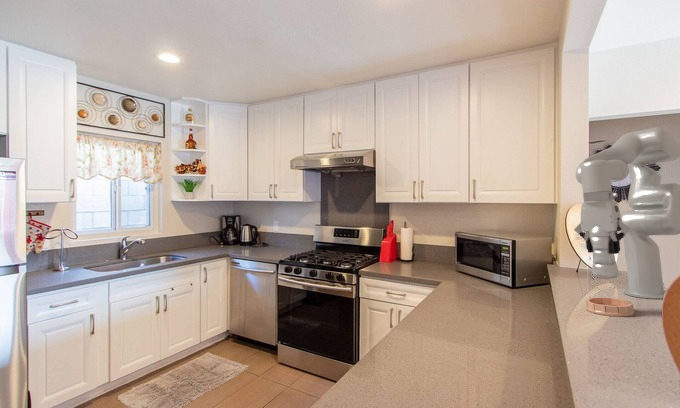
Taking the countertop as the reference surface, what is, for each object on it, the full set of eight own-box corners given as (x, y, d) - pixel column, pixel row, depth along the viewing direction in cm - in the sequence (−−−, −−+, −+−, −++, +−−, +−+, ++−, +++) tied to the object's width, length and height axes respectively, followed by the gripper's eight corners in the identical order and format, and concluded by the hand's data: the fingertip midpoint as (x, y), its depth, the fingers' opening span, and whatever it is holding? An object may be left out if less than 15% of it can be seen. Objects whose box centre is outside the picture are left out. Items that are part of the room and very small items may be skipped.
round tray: (597, 304, 114) (596, 295, 114) (641, 311, 103) (640, 302, 103) (578, 310, 108) (578, 301, 108) (623, 319, 98) (622, 309, 98)
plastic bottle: (624, 280, 102) (617, 216, 103) (599, 280, 104) (593, 218, 105) (611, 276, 109) (605, 216, 110) (588, 277, 110) (582, 217, 111)
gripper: (636, 195, 102) (642, 253, 101) (575, 199, 117) (580, 250, 116) (624, 195, 98) (630, 255, 97) (563, 200, 113) (568, 252, 112)
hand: (603, 252), depth 107 cm, fingers closed on plastic bottle, 6 cm apart
